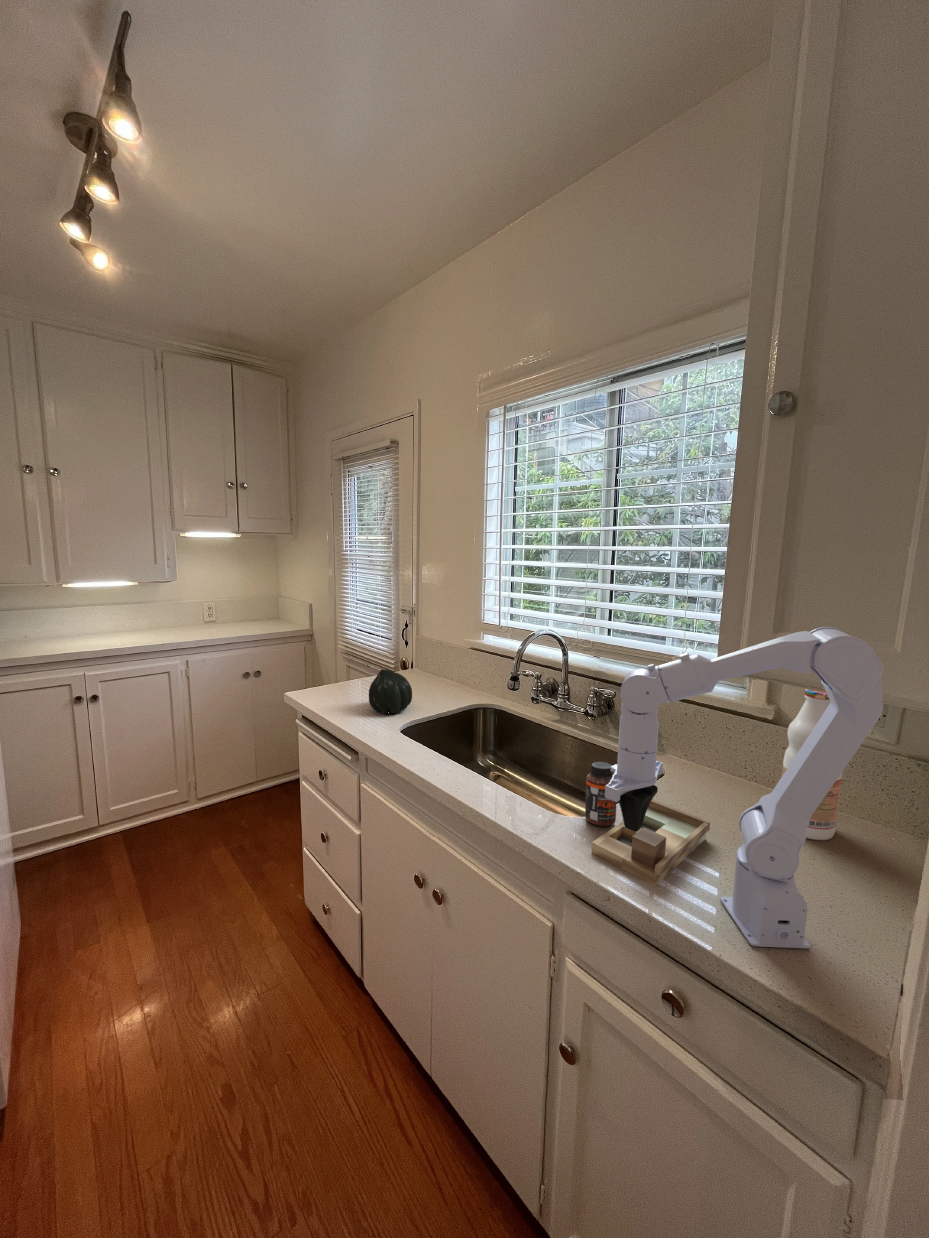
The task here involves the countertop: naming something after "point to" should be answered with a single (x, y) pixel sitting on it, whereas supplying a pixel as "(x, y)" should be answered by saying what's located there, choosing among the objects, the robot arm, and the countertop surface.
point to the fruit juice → (798, 732)
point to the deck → (661, 819)
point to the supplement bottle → (599, 796)
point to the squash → (390, 692)
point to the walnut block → (648, 847)
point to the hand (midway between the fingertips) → (632, 828)
